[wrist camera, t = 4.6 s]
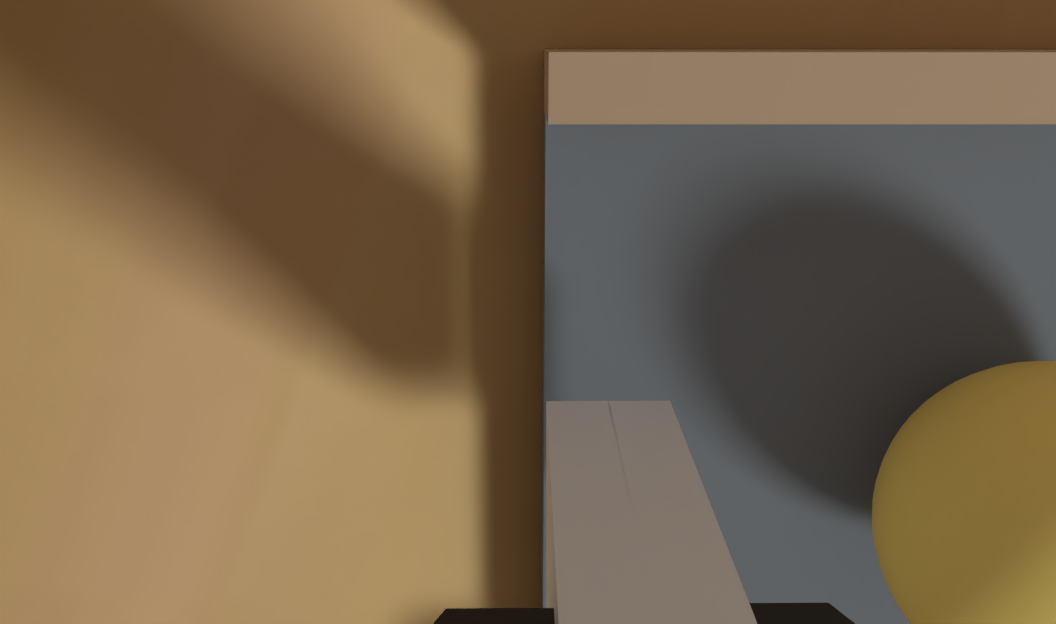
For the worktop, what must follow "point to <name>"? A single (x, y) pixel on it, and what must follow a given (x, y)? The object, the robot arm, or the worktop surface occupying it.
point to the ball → (973, 501)
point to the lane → (794, 269)
